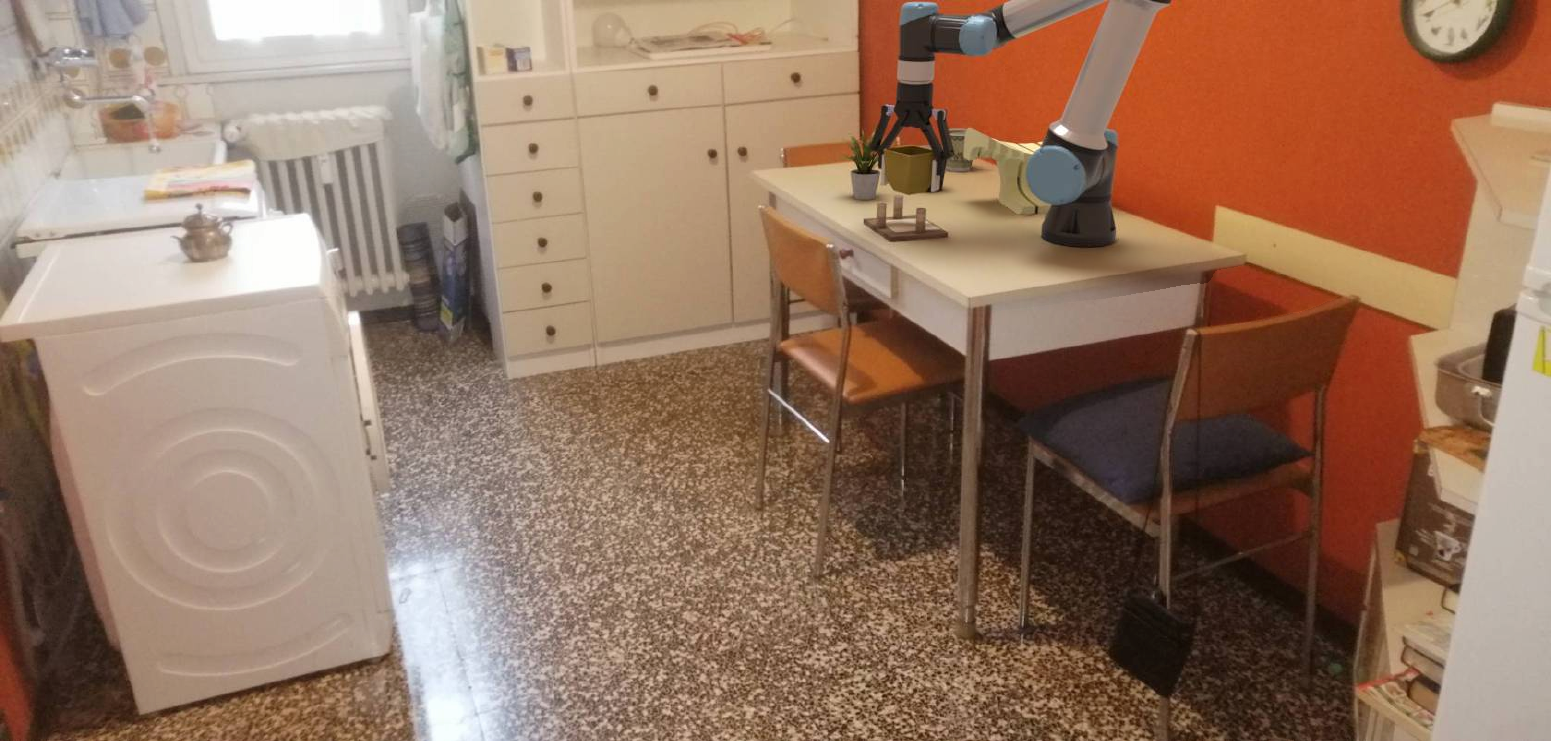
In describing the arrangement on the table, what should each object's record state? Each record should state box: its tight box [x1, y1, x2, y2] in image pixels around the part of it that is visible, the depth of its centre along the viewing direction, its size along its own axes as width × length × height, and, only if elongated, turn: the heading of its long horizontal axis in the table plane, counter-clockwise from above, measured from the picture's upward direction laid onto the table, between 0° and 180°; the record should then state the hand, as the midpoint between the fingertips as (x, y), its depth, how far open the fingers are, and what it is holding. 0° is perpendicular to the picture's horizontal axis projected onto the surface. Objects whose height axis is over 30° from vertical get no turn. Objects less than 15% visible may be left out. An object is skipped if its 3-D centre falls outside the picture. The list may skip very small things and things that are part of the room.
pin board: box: [863, 194, 949, 242], centre depth 240 cm, size 16×13×6 cm
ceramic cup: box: [945, 128, 980, 173], centre depth 298 cm, size 13×10×10 cm
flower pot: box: [884, 144, 936, 196], centre depth 237 cm, size 9×9×9 cm
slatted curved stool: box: [963, 127, 1051, 216], centre depth 259 cm, size 30×16×18 cm, turn 100°
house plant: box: [840, 129, 883, 201], centre depth 265 cm, size 14×14×16 cm
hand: (909, 187), depth 238 cm, fingers closed on flower pot, 11 cm apart
